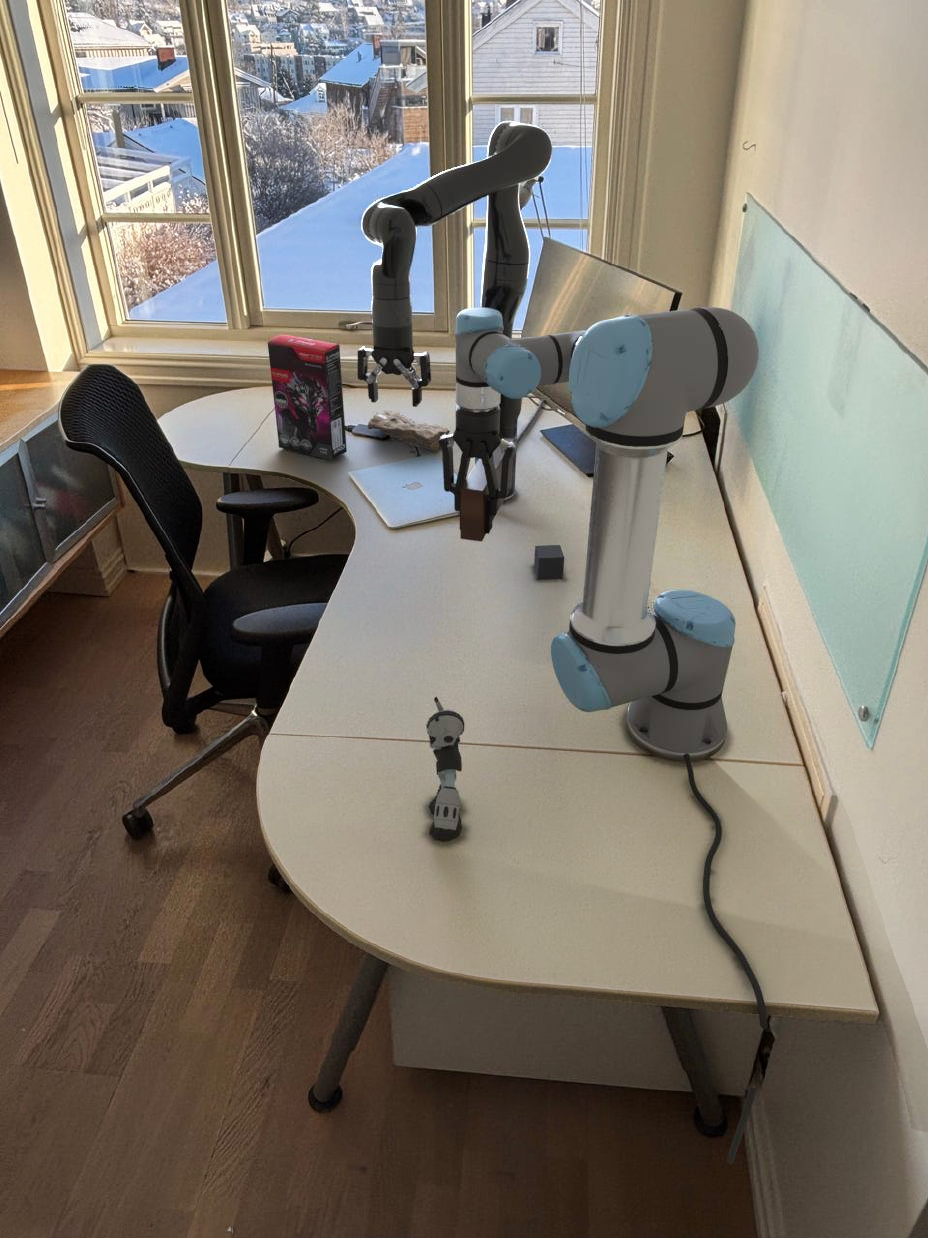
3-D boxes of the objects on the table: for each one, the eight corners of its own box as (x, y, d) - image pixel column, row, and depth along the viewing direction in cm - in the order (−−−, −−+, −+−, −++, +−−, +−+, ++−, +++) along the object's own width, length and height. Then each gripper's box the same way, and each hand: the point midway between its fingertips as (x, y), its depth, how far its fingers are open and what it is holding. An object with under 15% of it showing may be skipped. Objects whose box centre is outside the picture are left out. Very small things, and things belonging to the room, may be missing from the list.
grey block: (562, 579, 180) (564, 557, 178) (537, 580, 180) (538, 558, 177) (558, 566, 184) (560, 544, 182) (533, 567, 184) (535, 545, 181)
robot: (467, 874, 119) (468, 759, 108) (429, 876, 119) (427, 760, 108) (460, 769, 135) (460, 659, 124) (426, 770, 135) (424, 660, 124)
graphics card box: (276, 448, 231) (264, 340, 216) (293, 439, 236) (282, 332, 221) (333, 462, 225) (324, 351, 209) (349, 452, 230) (341, 343, 214)
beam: (481, 541, 165) (482, 490, 159) (460, 538, 165) (460, 488, 160) (511, 485, 184) (513, 438, 178) (492, 483, 185) (493, 436, 179)
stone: (352, 434, 231) (356, 410, 229) (373, 426, 244) (377, 403, 242) (430, 458, 227) (435, 434, 225) (447, 448, 241) (452, 426, 238)
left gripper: (434, 317, 174) (435, 400, 183) (363, 311, 177) (367, 393, 186) (422, 328, 168) (424, 414, 177) (349, 322, 171) (354, 406, 180)
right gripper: (532, 402, 156) (526, 525, 169) (435, 392, 159) (437, 513, 172) (523, 417, 150) (517, 544, 163) (422, 407, 153) (425, 531, 166)
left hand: (395, 403), depth 181 cm, fingers open, 8 cm apart
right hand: (476, 528), depth 167 cm, fingers closed on beam, 4 cm apart
